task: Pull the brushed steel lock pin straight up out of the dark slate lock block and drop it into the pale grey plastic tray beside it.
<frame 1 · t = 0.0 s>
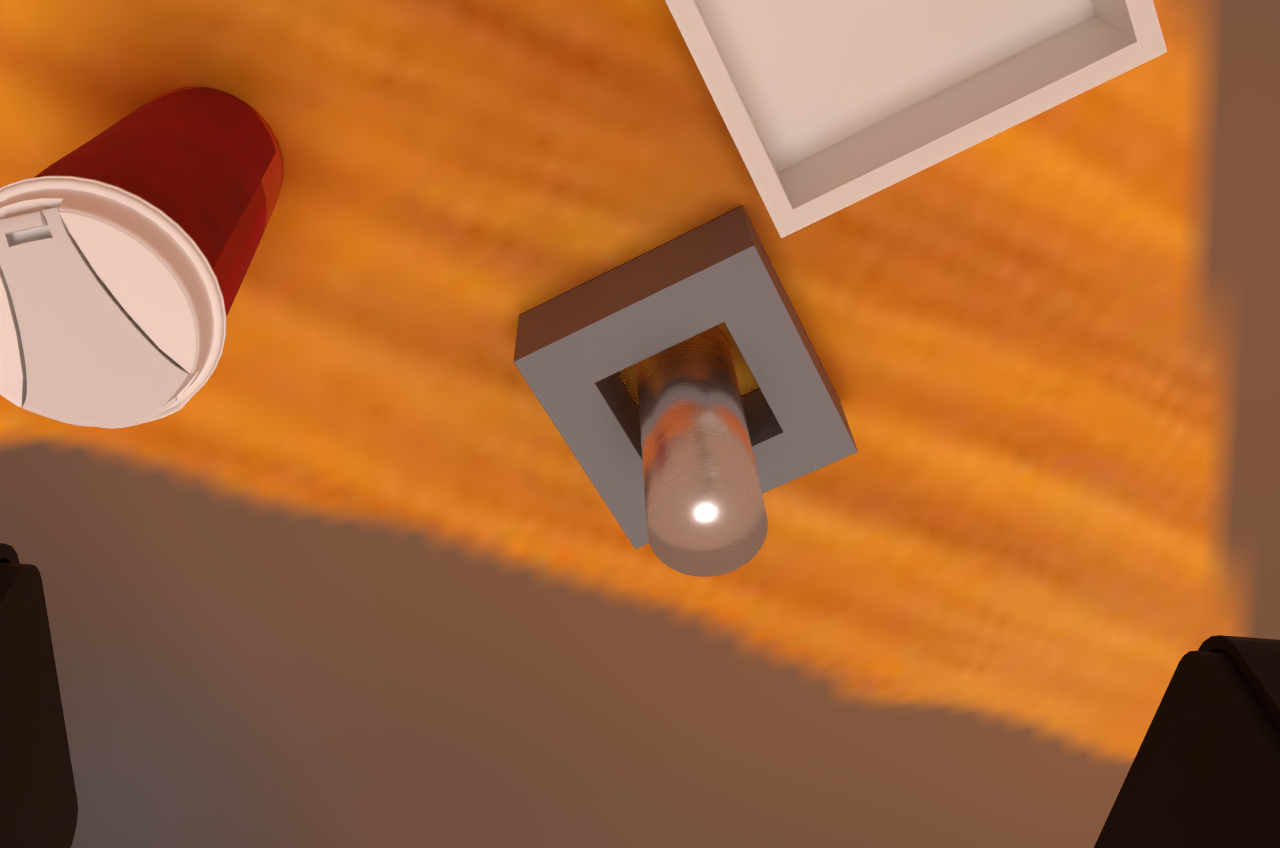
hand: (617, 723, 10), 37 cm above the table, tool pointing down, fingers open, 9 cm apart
paper cup: (210, 160, 46), on the table
lock pin: (694, 434, 45), in the lock block
lock block: (683, 359, 51), on the table
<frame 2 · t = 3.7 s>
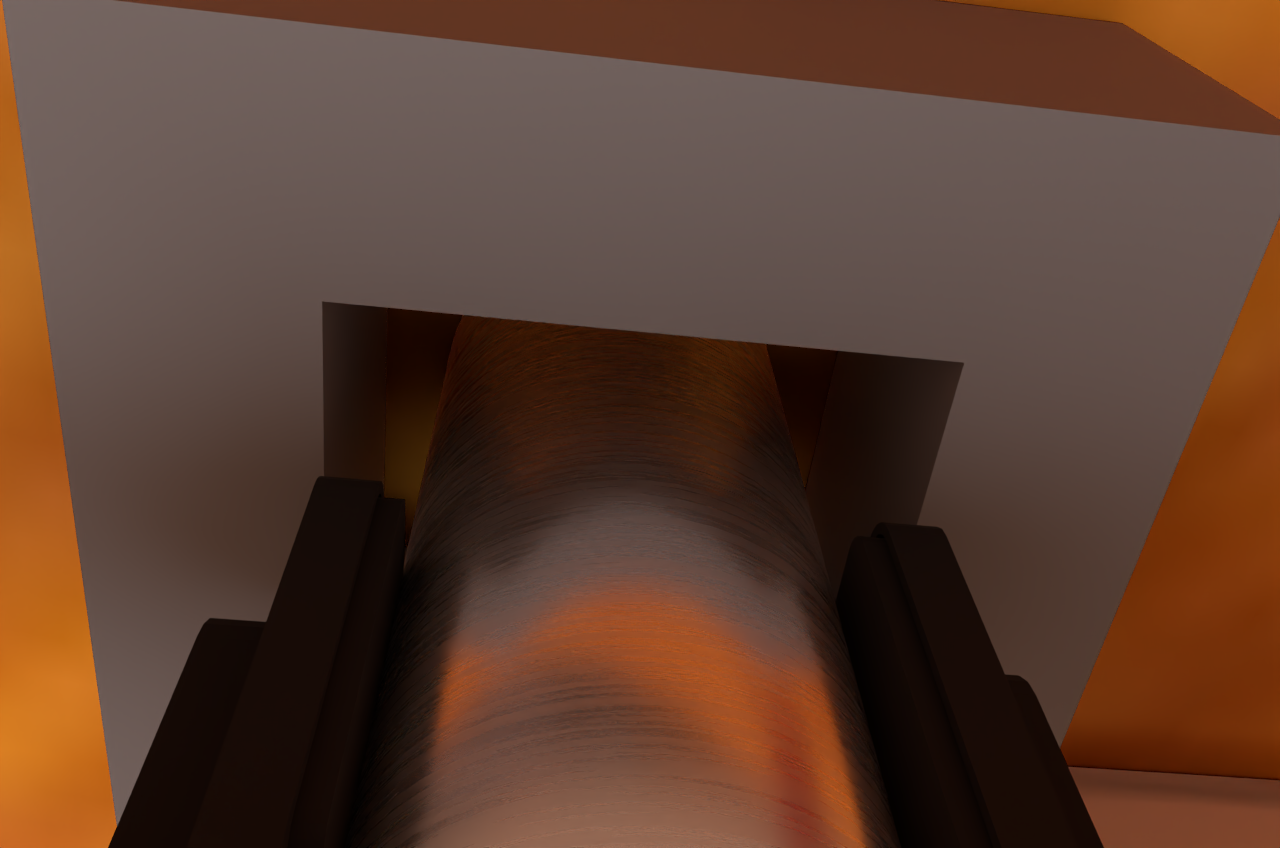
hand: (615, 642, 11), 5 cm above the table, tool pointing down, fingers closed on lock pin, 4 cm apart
lock pin: (618, 737, 10), in the lock block, touching gripper
lock block: (609, 385, 15), on the table
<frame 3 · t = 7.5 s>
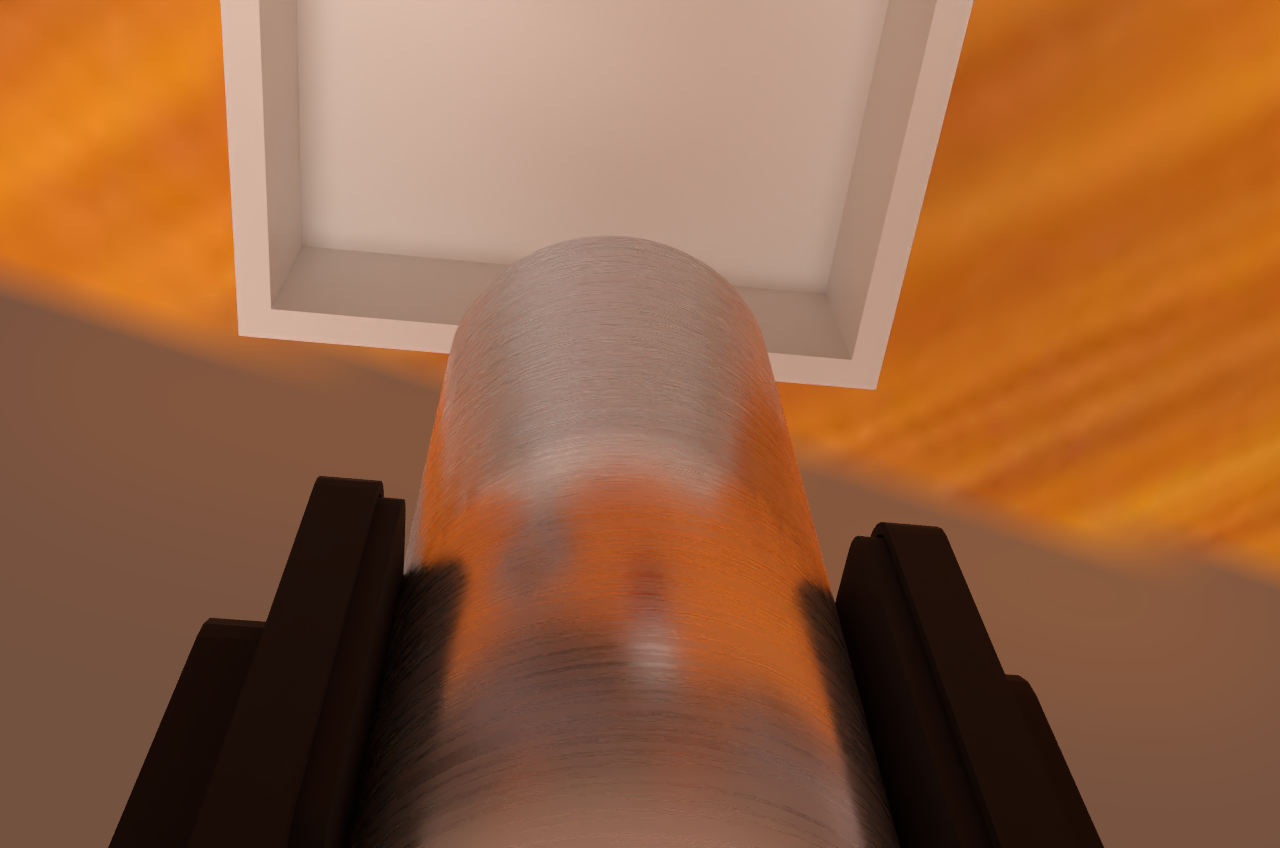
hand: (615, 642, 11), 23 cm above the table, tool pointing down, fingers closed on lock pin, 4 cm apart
lock pin: (618, 742, 10), point 24 cm above the table, touching gripper
tray: (591, 36, 31), on the table
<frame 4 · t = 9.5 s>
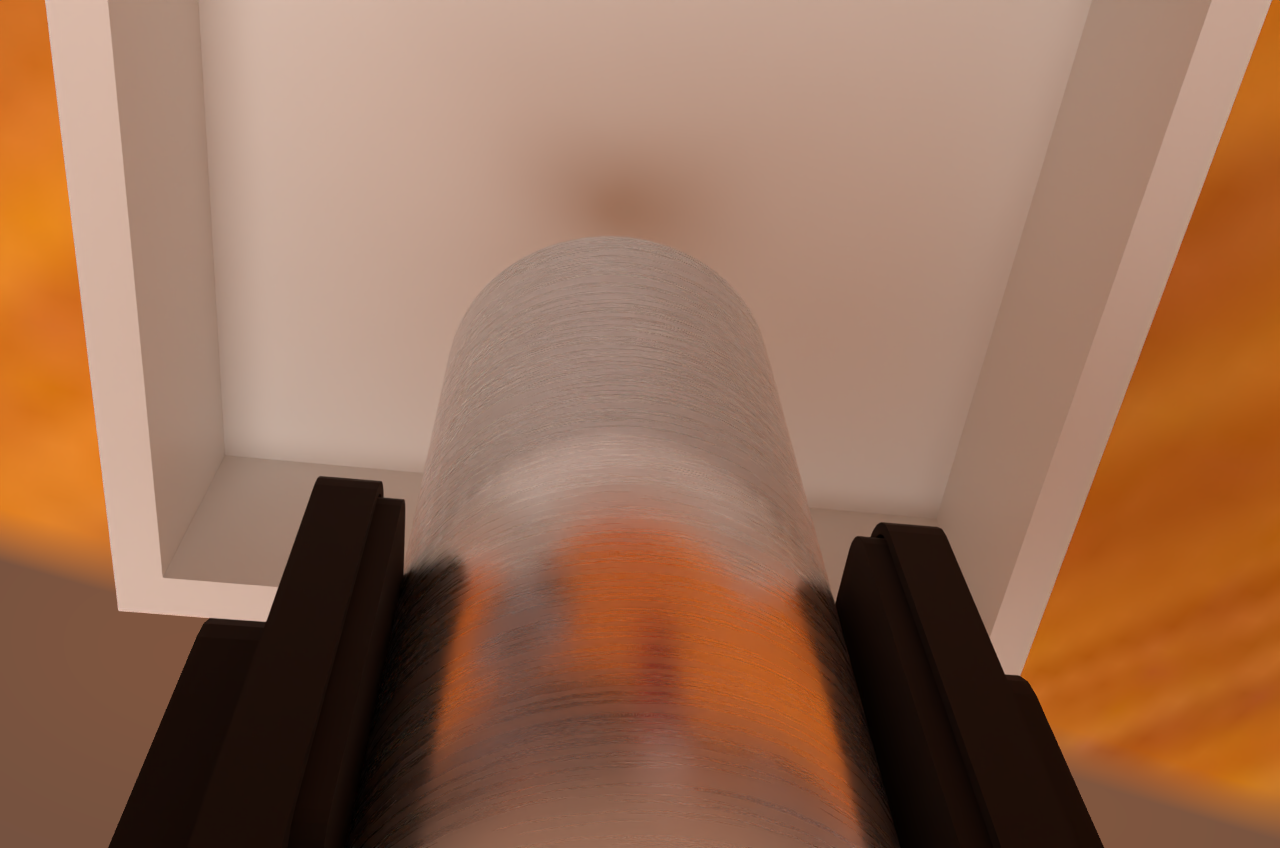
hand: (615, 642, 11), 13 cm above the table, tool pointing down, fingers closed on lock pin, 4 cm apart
lock pin: (618, 743, 10), point 14 cm above the table, touching gripper
tray: (624, 184, 22), on the table
when the fingers open (7 cm above the table, at t = 11.3 s): lock pin drops 2 cm, resting on tray.
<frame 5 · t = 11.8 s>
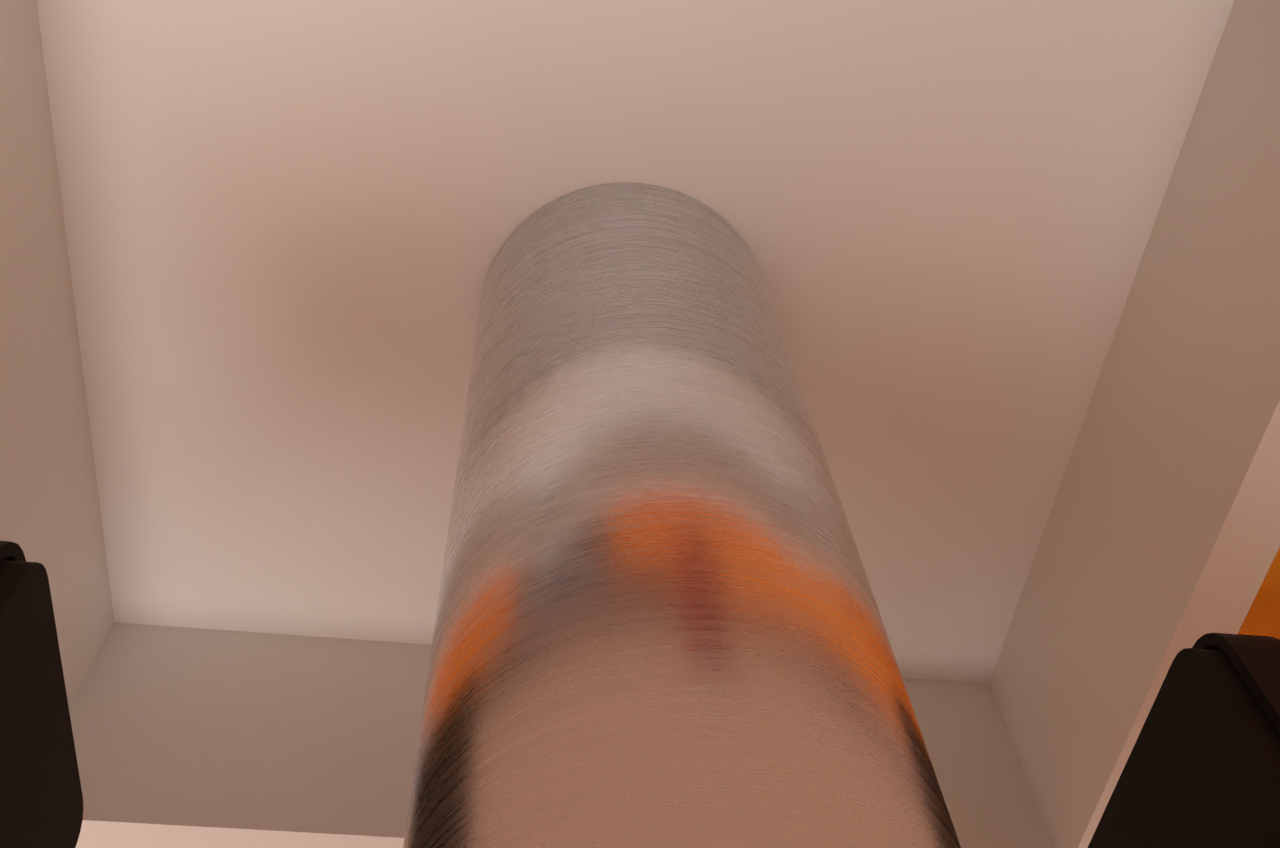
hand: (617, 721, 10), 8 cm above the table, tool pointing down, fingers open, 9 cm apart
lock pin: (651, 592, 12), in the tray, point 7 cm above the table
tray: (606, 296, 17), on the table
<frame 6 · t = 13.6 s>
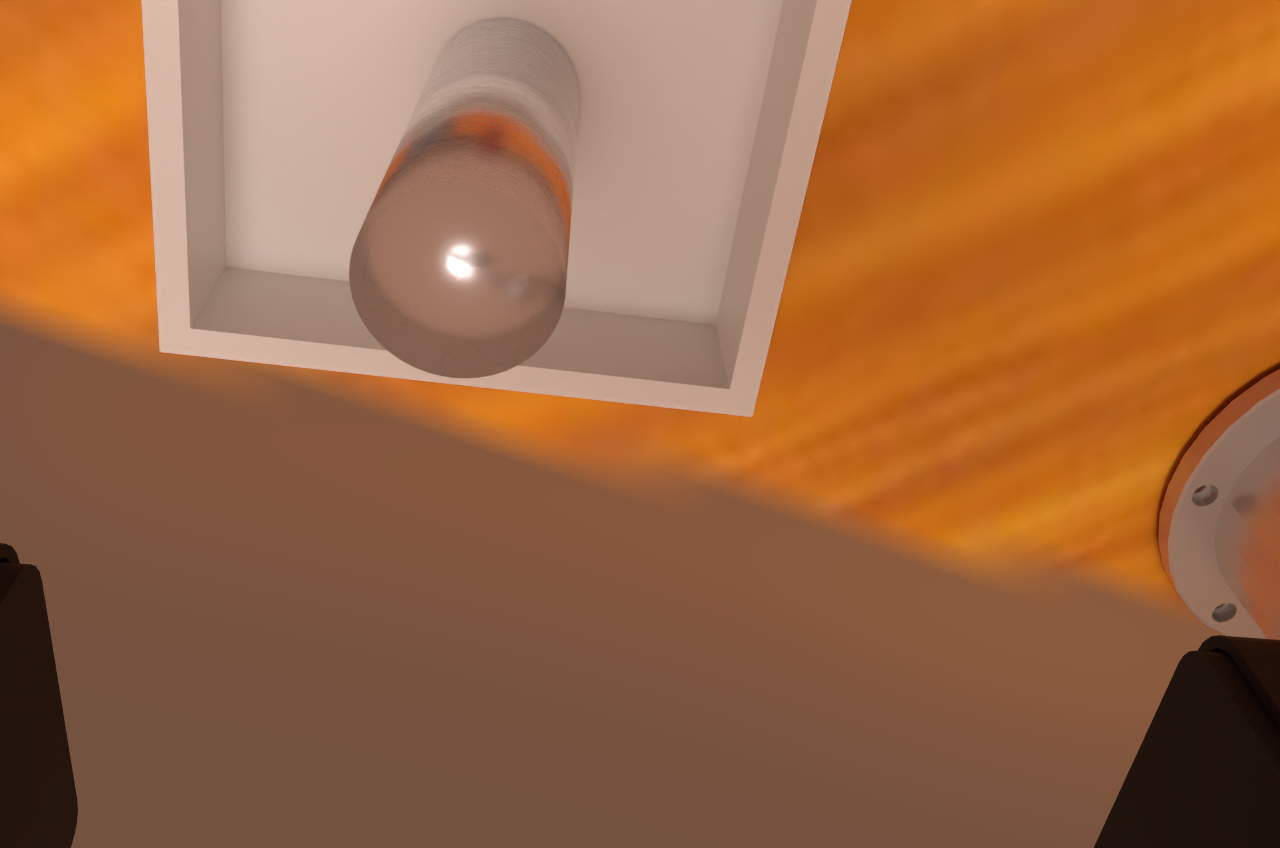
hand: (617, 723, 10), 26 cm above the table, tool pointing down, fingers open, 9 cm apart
lock pin: (486, 171, 28), in the tray, point 7 cm above the table
tray: (497, 83, 33), on the table
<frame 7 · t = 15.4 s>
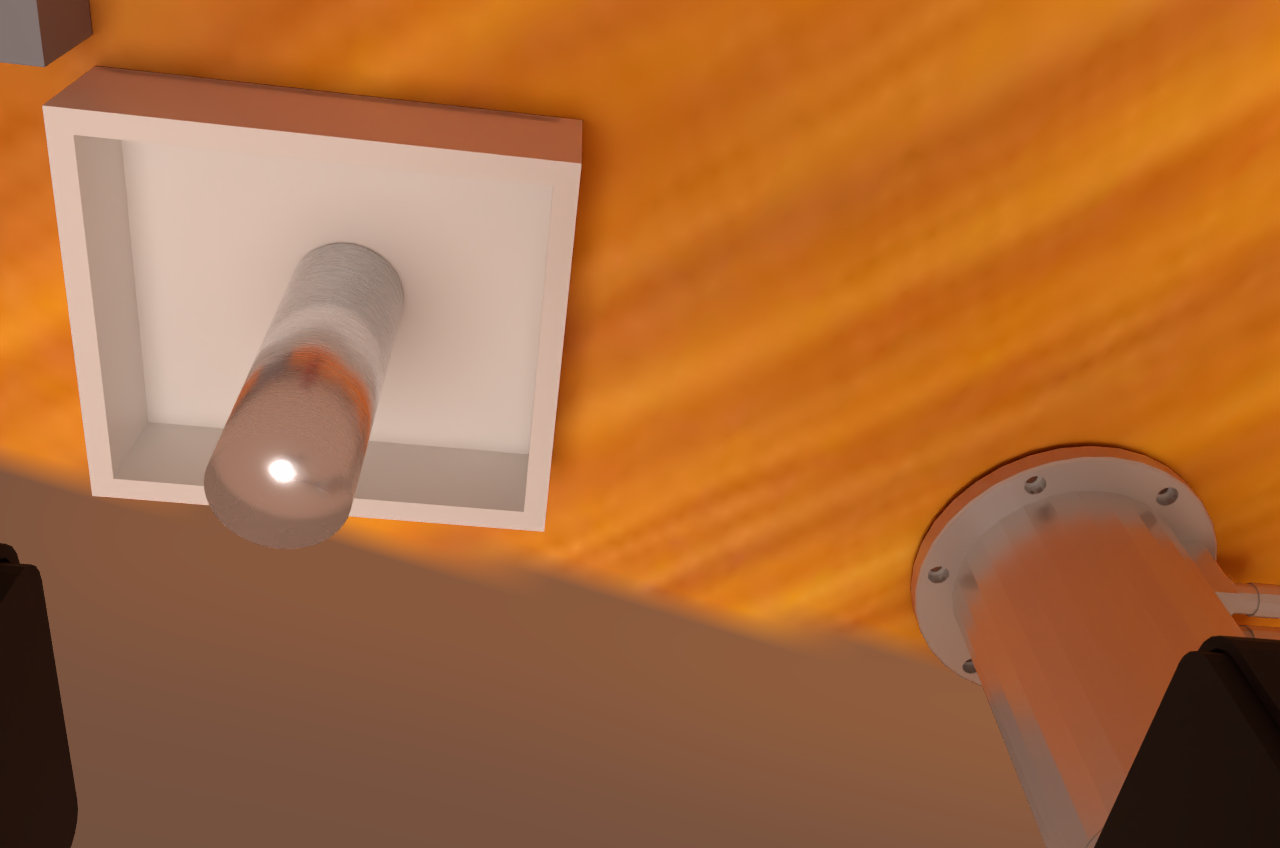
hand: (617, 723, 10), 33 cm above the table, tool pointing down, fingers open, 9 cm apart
lock pin: (317, 380, 38), in the tray, point 7 cm above the table
tray: (343, 284, 44), on the table
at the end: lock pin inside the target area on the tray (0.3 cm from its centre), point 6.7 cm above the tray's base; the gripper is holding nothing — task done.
